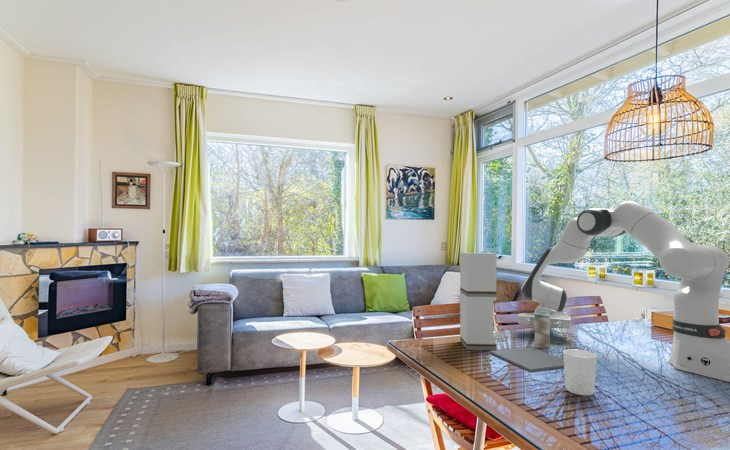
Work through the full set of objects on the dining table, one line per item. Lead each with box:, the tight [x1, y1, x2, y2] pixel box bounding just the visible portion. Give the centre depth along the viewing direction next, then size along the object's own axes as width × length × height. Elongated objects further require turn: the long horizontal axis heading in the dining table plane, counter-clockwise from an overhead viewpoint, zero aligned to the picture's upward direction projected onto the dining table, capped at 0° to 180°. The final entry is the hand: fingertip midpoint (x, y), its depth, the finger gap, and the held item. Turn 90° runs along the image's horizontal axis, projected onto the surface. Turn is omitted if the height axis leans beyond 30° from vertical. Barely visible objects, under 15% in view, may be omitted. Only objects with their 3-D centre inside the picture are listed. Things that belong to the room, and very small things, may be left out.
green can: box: [534, 311, 551, 349], centre depth 149 cm, size 5×5×12 cm
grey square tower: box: [459, 251, 498, 351], centre depth 150 cm, size 11×11×35 cm
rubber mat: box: [489, 346, 564, 373], centre depth 133 cm, size 20×18×1 cm
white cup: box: [562, 348, 597, 396], centre depth 106 cm, size 8×8×10 cm
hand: (543, 324), depth 155 cm, fingers open, 8 cm apart
